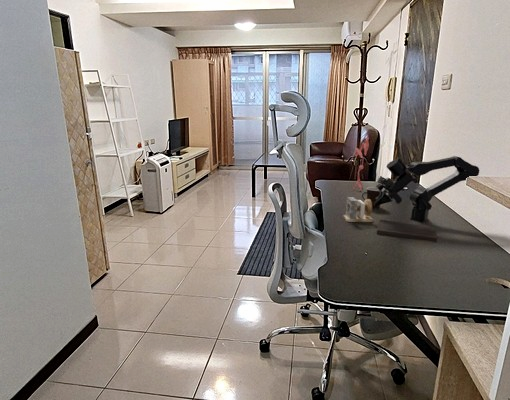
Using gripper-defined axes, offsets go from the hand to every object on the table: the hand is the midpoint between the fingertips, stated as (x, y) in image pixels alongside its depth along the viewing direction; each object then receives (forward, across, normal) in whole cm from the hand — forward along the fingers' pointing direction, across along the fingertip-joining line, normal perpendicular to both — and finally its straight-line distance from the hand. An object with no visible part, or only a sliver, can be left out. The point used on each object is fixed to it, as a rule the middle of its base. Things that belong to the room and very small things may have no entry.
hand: (374, 205), depth 168 cm
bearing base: (+10, 0, 0) cm, 11 cm away
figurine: (-7, -66, +17) cm, 68 cm away
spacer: (+9, 0, -1) cm, 9 cm away
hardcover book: (0, +18, +11) cm, 21 cm away
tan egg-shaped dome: (+9, 0, -1) cm, 9 cm away
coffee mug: (0, -23, +10) cm, 25 cm away
